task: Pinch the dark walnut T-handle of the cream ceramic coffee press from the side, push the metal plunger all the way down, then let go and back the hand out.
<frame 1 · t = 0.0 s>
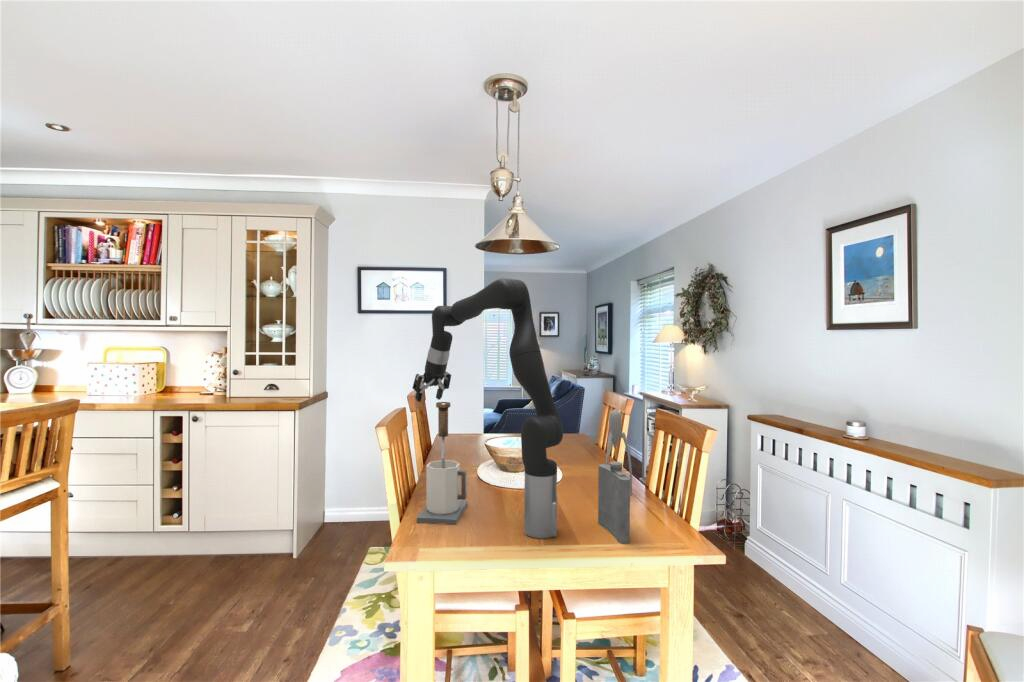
hand: (428, 399, 184), 31 cm above the table, tool tilted 20°, fingers open, 8 cm apart
coffee press: (443, 513, 157), on the table
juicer: (618, 495, 175), on the table
plunger: (443, 439, 156), point 23 cm above the table, slide at 0.0 cm
hip flask: (614, 532, 144), on the table
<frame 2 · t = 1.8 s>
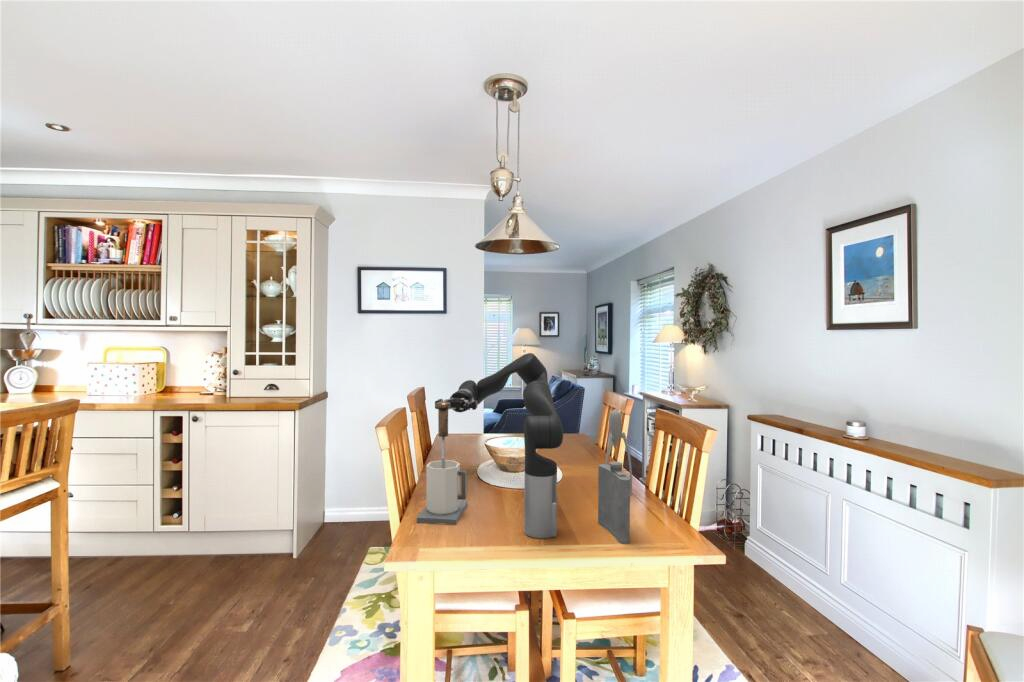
hand: (451, 407, 168), 31 cm above the table, tool horizontal, fingers open, 8 cm apart
nothing on the table moved.
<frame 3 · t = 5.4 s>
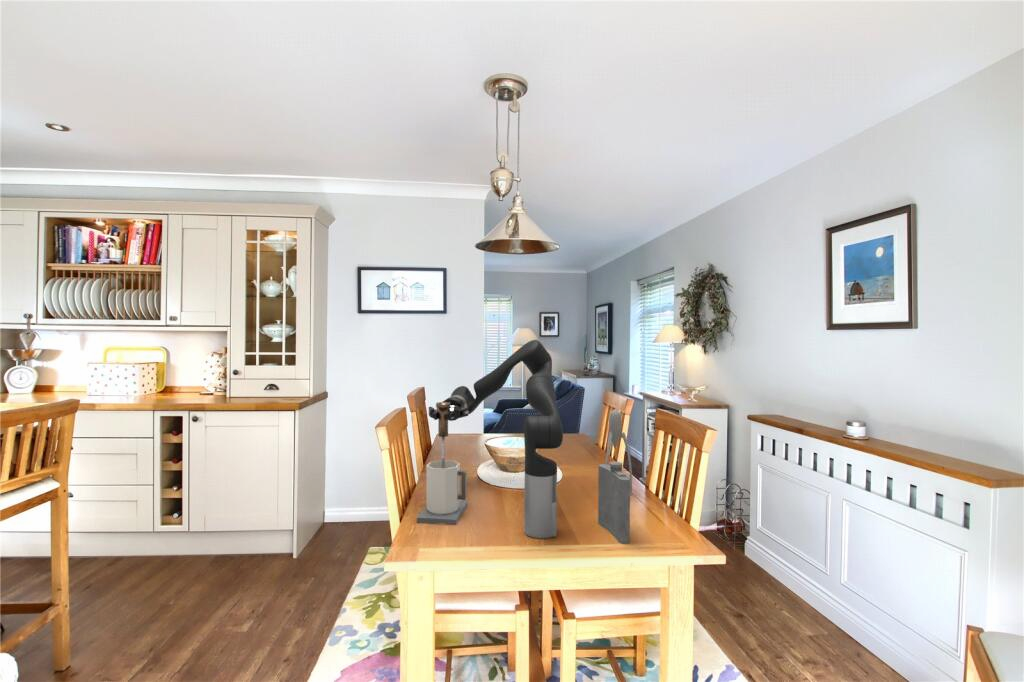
hand: (440, 416, 153), 31 cm above the table, tool horizontal, fingers closed on plunger, 3 cm apart
plunger: (443, 439, 156), point 23 cm above the table, slide at 0.0 cm, touching gripper
everything else where it was.
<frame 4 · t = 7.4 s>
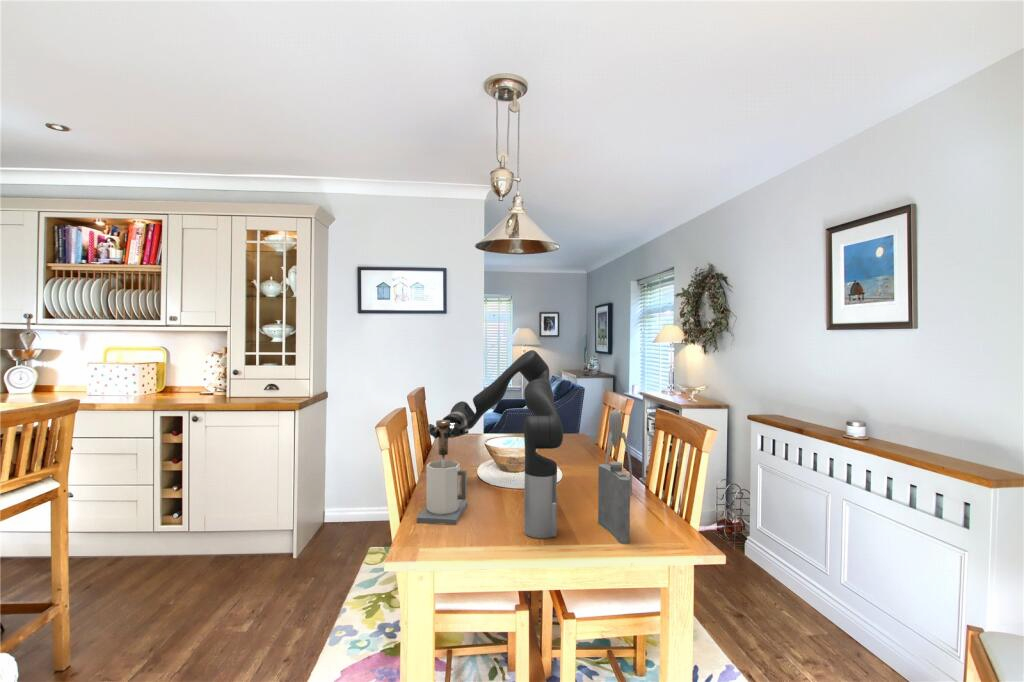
hand: (440, 435, 154), 25 cm above the table, tool horizontal, fingers closed on plunger, 3 cm apart
plunger: (443, 457, 157), point 18 cm above the table, slide at 5.7 cm, touching gripper
everything else where it was.
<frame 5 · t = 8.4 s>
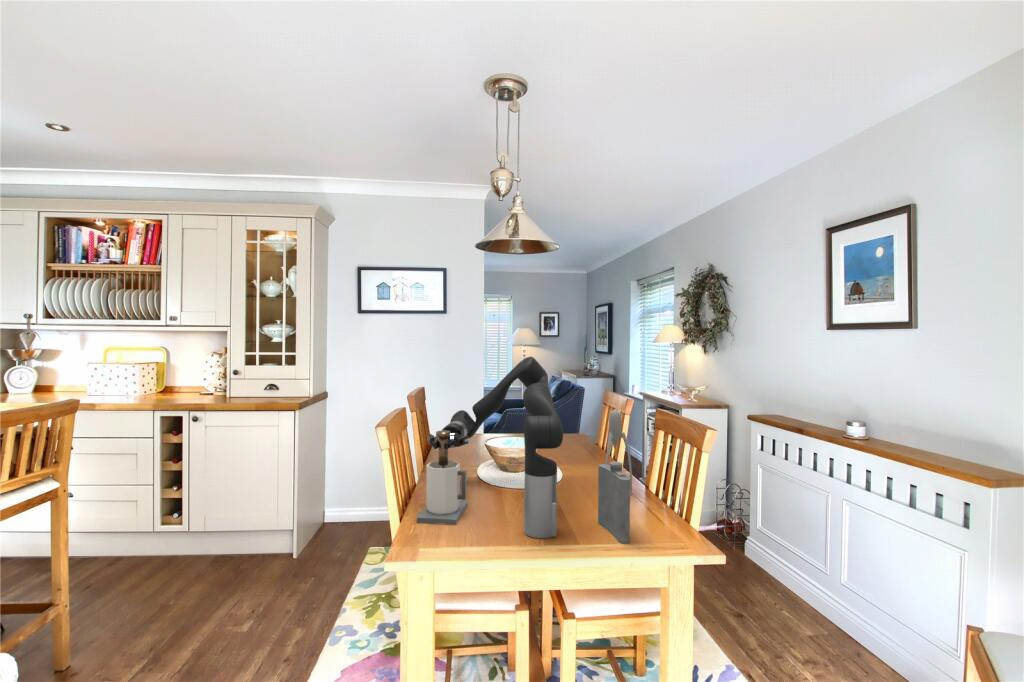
hand: (440, 445, 154), 22 cm above the table, tool horizontal, fingers closed on plunger, 3 cm apart
plunger: (443, 467, 157), point 14 cm above the table, slide at 9.0 cm, touching gripper
everything else where it was.
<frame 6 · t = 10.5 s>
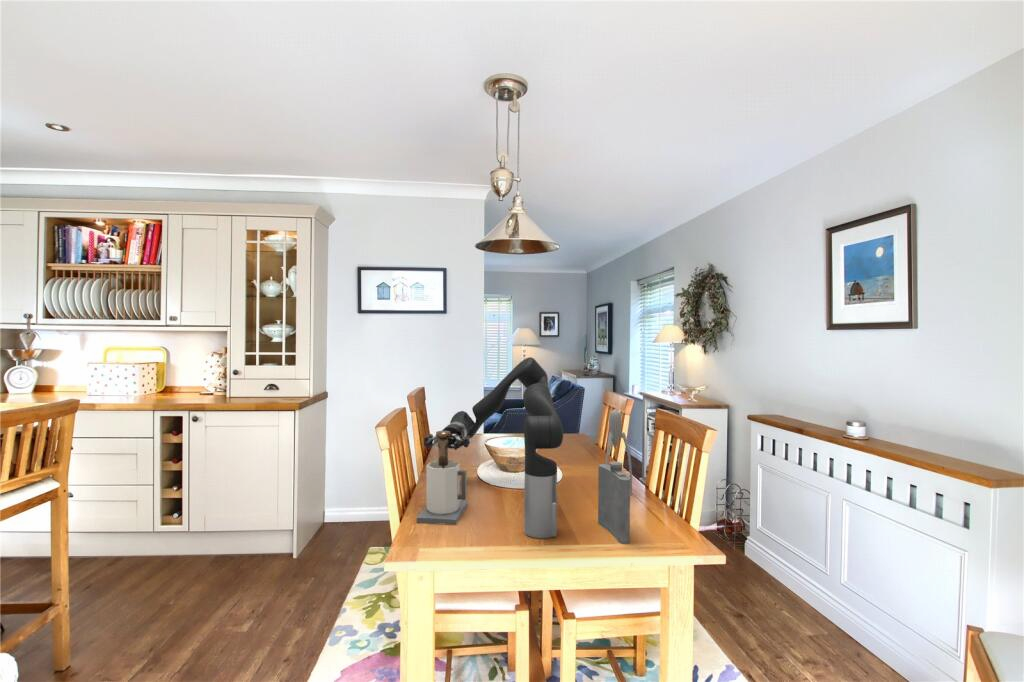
hand: (441, 446, 155), 22 cm above the table, tool horizontal, fingers open, 8 cm apart
plunger: (443, 468, 157), point 14 cm above the table, slide at 9.1 cm
everything else where it was.
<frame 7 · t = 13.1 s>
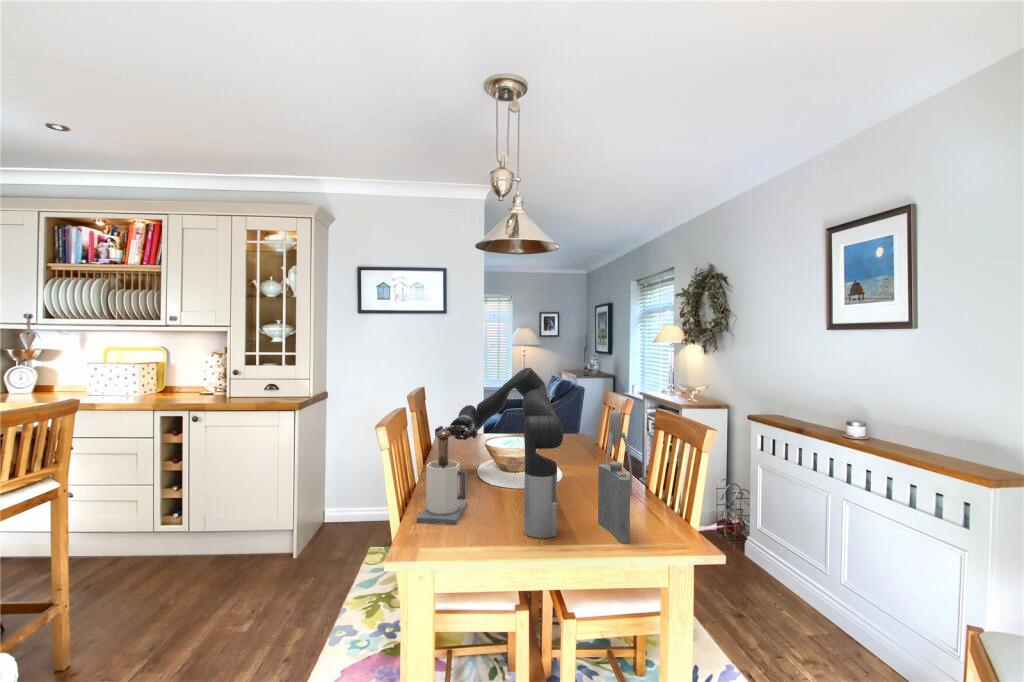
hand: (451, 436, 167), 22 cm above the table, tool horizontal, fingers open, 8 cm apart
nothing on the table moved.
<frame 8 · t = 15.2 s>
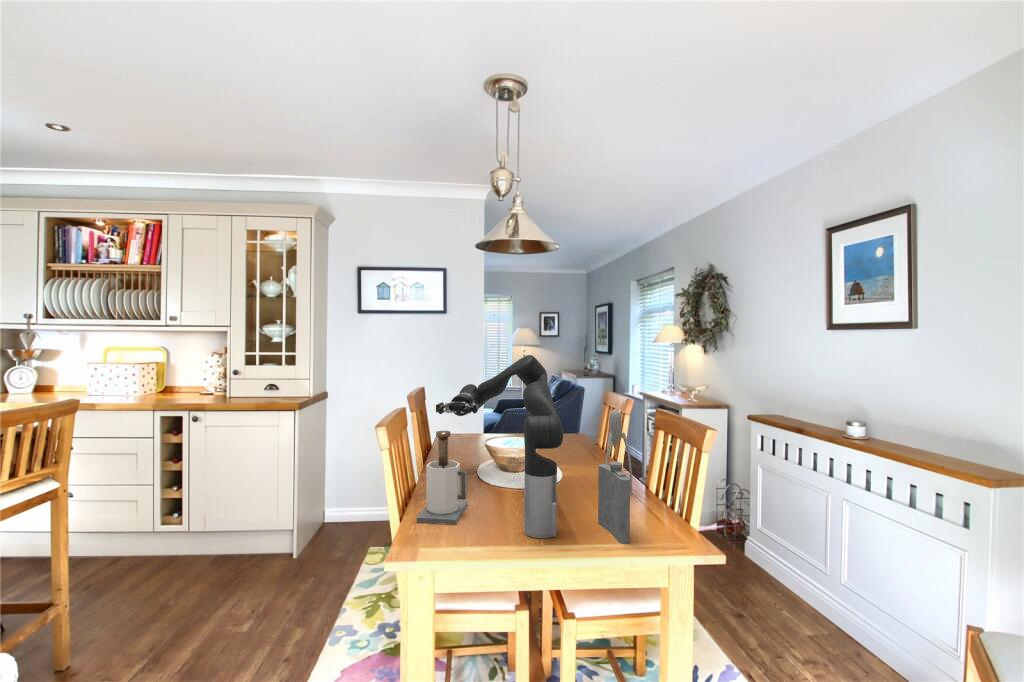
hand: (452, 411, 168), 30 cm above the table, tool horizontal, fingers open, 8 cm apart
nothing on the table moved.
at the end: plunger slide at 9.1 cm; the gripper is holding nothing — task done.
